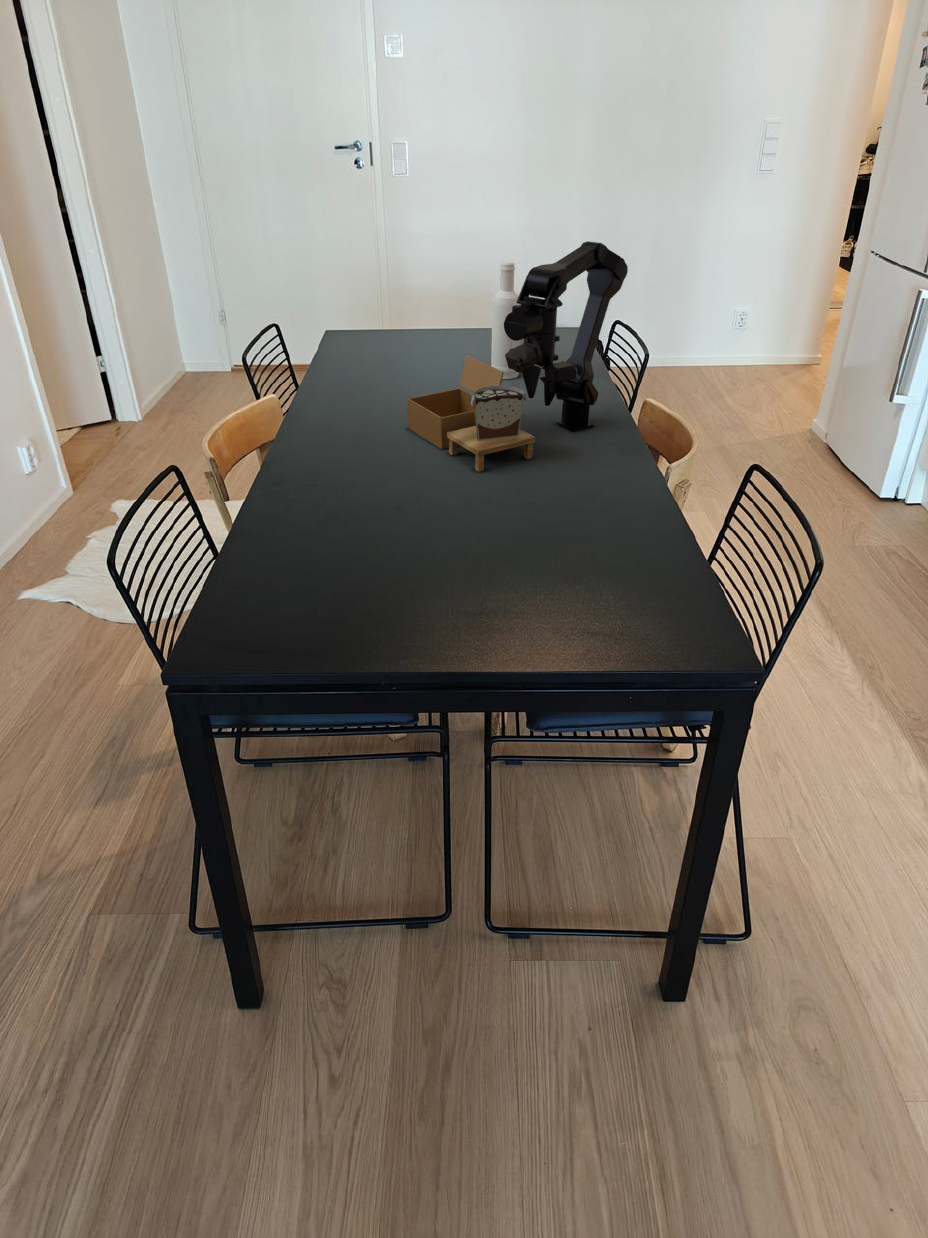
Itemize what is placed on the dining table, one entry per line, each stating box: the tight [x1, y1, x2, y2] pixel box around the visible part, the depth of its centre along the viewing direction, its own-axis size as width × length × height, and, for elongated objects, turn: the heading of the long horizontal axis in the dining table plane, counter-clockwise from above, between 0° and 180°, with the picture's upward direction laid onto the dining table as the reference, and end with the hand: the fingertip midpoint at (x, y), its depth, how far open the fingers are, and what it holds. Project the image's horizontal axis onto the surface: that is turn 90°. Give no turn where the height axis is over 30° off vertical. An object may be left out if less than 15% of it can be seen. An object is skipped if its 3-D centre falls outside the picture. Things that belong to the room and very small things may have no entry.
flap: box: [459, 354, 504, 393], centre depth 198 cm, size 7×16×1 cm
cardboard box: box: [406, 387, 476, 450], centre depth 198 cm, size 15×16×7 cm
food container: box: [471, 385, 527, 441], centre depth 183 cm, size 12×6×10 cm, turn 107°
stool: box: [447, 426, 536, 473], centre depth 187 cm, size 13×15×5 cm
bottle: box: [490, 260, 521, 380], centre depth 229 cm, size 8×8×30 cm
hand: (539, 401), depth 189 cm, fingers open, 6 cm apart
